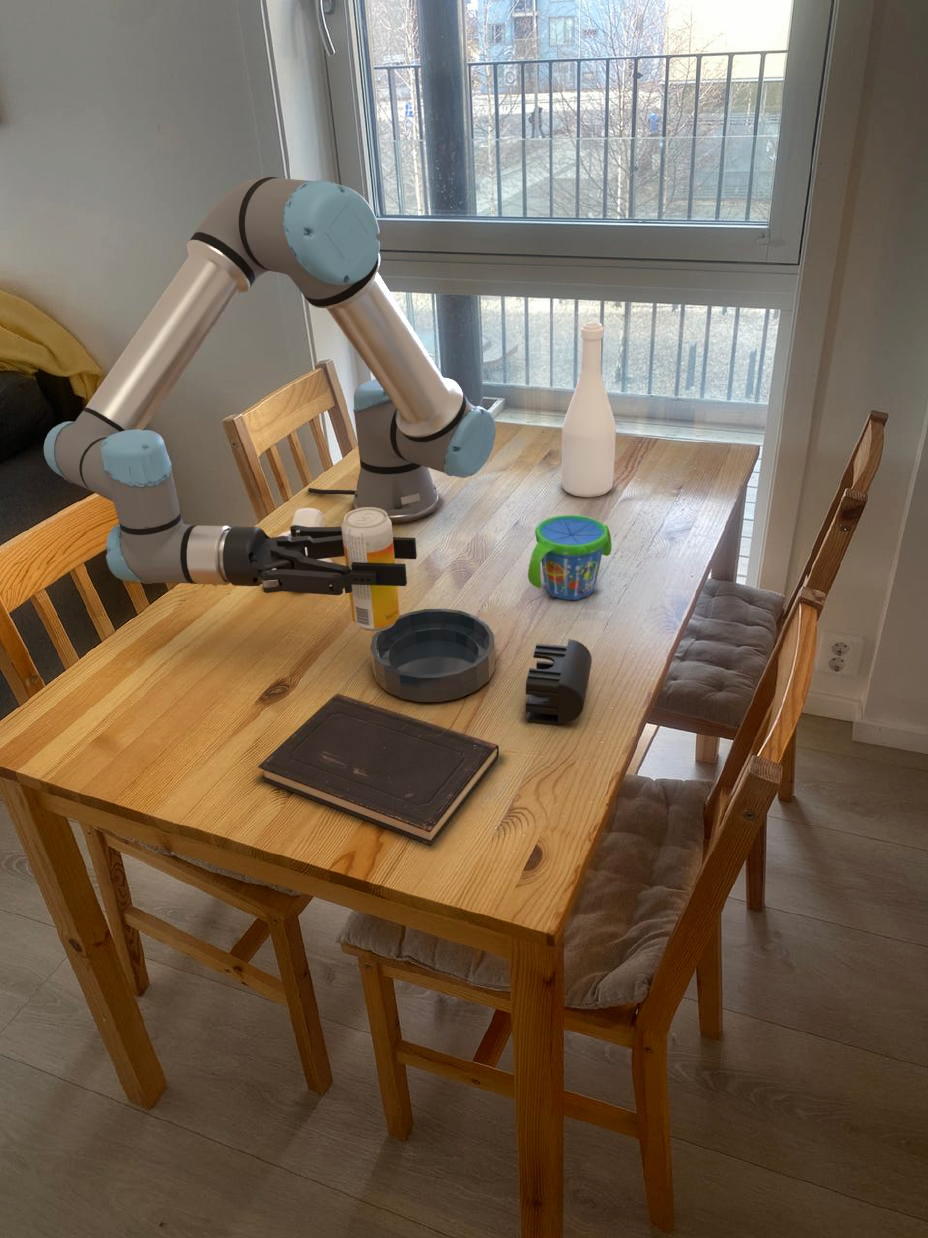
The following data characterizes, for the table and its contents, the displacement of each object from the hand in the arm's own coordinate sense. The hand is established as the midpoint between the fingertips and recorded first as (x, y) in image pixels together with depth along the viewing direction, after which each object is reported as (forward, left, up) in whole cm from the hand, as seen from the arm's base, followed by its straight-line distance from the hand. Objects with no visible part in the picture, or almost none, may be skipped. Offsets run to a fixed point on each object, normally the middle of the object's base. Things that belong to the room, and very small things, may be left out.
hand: (410, 561), depth 116 cm
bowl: (0, +3, -18) cm, 18 cm away
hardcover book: (+8, -17, -18) cm, 26 cm away
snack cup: (+4, +31, -18) cm, 36 cm away
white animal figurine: (-35, +12, -18) cm, 41 cm away
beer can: (-4, -3, -9) cm, 11 cm away
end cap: (+18, +6, -18) cm, 26 cm away
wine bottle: (-13, +64, -18) cm, 68 cm away
